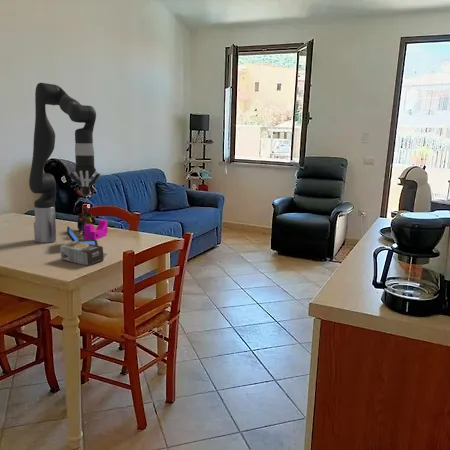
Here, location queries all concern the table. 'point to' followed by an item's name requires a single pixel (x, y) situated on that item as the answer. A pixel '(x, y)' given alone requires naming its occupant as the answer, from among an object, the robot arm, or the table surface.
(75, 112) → the robot arm
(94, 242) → the game console
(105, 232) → the toy block
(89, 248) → the coffee box
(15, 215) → the table surface
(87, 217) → the doll family
